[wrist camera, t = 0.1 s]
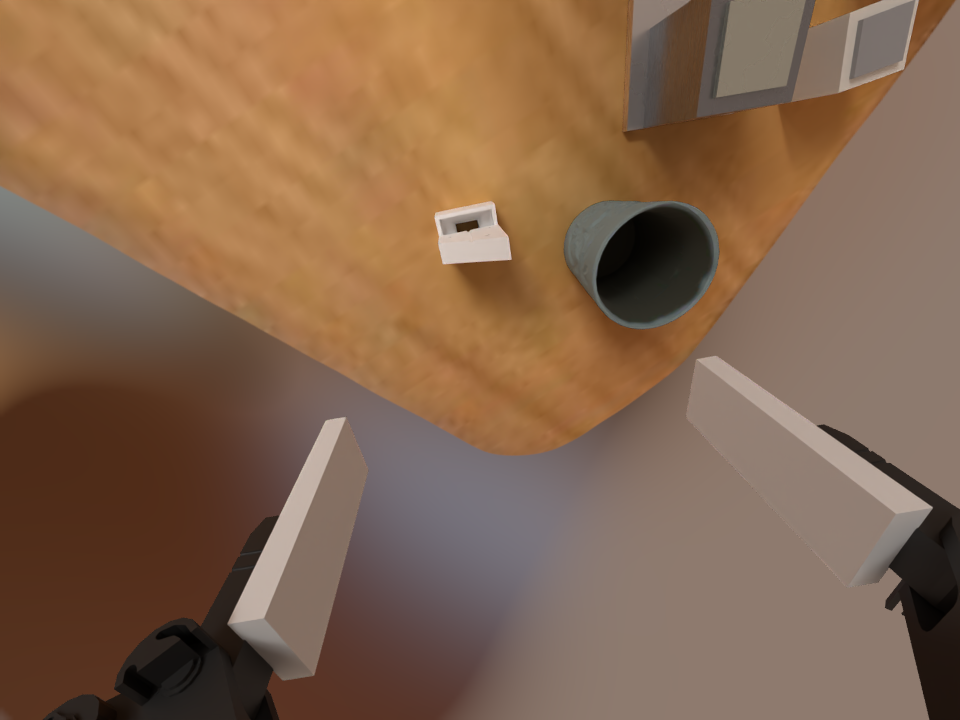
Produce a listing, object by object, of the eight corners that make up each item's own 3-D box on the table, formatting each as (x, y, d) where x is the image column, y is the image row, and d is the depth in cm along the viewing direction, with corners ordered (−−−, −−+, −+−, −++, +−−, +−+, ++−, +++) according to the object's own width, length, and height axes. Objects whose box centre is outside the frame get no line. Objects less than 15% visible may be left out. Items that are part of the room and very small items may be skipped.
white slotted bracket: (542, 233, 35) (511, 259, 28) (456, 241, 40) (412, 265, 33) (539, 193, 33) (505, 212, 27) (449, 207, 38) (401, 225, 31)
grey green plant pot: (635, 286, 41) (699, 327, 31) (550, 290, 40) (585, 333, 30) (654, 190, 36) (738, 199, 26) (557, 192, 36) (603, 203, 25)
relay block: (782, 38, 31) (855, 10, 25) (841, 16, 31) (928, -18, 25) (777, 104, 33) (843, 92, 28) (831, 84, 33) (909, 68, 27)
